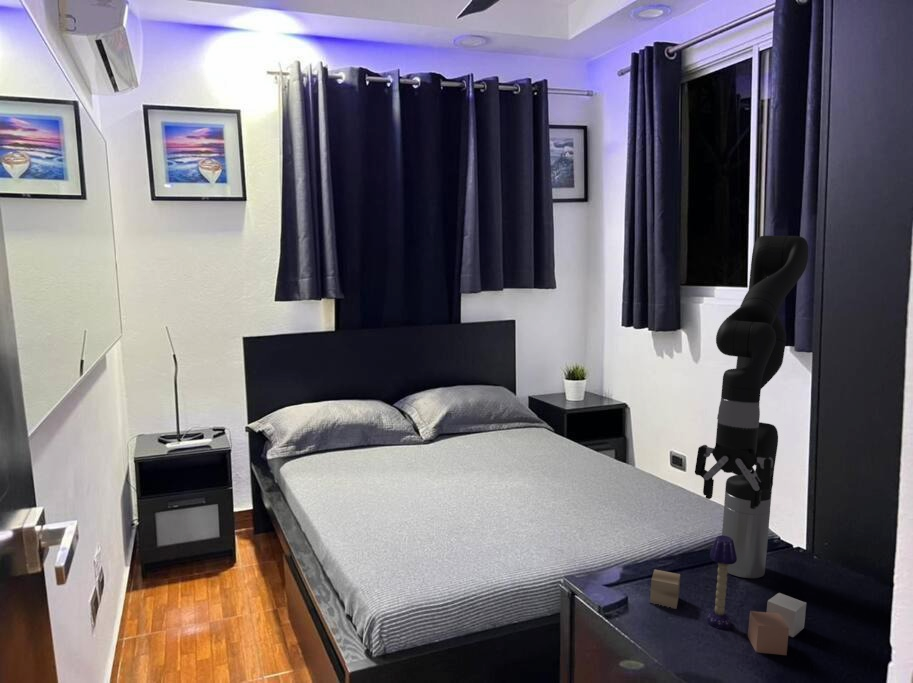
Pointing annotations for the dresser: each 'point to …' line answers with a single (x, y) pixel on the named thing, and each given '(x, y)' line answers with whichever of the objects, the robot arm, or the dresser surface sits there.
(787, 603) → the off-white block
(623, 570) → the dresser surface
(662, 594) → the oak block
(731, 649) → the dresser surface
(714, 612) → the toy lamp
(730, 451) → the robot arm
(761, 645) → the terracotta block
